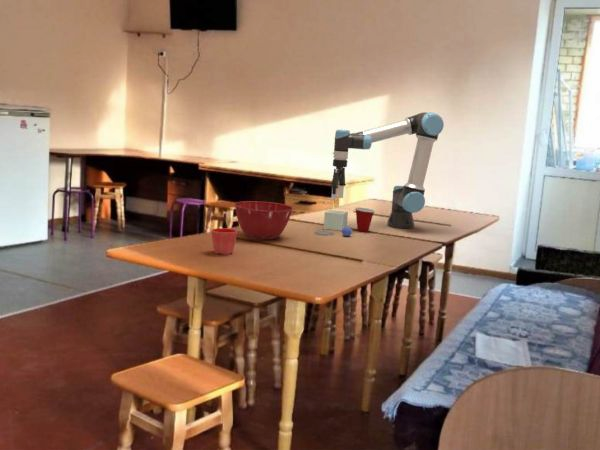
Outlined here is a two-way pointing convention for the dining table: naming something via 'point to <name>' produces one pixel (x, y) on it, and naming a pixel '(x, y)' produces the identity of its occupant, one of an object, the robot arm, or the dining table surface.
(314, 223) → the dining table surface
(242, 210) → the mixing bowl
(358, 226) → the plastic cup
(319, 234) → the grey spot
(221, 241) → the flower pot
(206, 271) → the dining table surface
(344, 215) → the pale green brick
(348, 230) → the ball
